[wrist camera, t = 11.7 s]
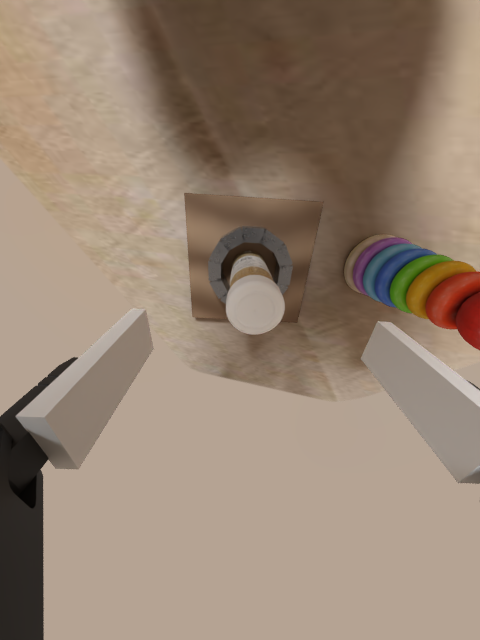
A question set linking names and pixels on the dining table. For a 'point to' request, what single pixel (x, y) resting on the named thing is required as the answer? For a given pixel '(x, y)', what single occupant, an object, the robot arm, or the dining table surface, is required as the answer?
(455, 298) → the stacking toy
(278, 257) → the collar
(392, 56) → the dining table surface
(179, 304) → the dining table surface
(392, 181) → the dining table surface
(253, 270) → the sprinkles bottle
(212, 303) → the base board
